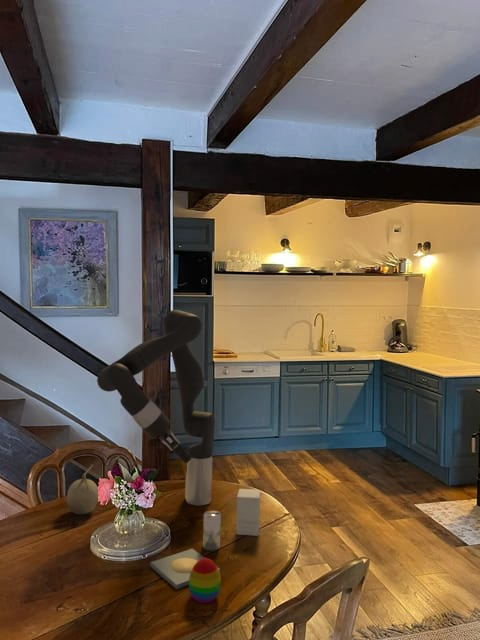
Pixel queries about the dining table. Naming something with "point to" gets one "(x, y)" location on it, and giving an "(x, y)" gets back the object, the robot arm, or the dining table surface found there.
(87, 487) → the fruit
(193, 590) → the decorative egg
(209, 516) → the clear glass cylinder
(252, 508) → the supplement box
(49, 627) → the dining table surface
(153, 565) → the flange plate
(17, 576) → the dining table surface
